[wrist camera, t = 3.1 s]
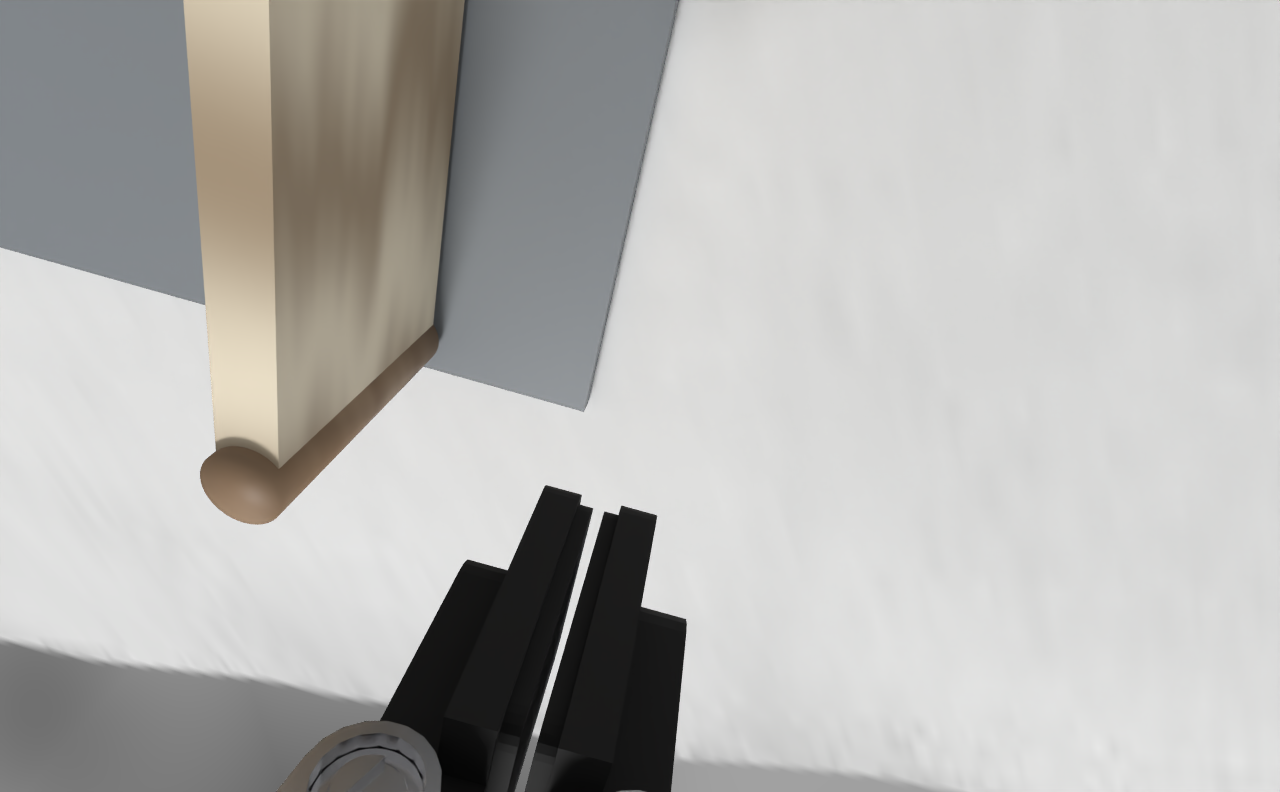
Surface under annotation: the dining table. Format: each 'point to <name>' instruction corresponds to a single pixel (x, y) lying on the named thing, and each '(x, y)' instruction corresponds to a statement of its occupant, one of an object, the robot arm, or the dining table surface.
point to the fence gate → (315, 223)
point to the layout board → (476, 184)
